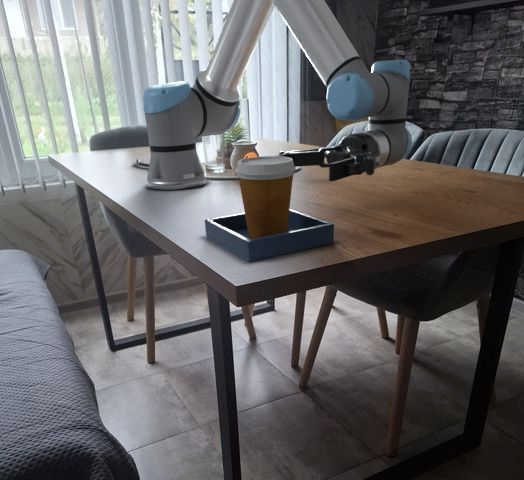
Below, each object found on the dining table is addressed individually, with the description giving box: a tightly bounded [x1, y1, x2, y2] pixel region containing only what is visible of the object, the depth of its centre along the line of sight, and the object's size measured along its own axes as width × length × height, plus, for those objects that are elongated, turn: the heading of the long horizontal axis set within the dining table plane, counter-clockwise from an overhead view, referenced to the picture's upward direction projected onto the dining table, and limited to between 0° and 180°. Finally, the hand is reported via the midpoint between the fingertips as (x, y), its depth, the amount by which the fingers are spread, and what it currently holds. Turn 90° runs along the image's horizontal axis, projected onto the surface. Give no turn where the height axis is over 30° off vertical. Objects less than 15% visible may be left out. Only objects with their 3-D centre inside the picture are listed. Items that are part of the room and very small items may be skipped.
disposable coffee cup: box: [234, 155, 297, 239], centre depth 78 cm, size 10×10×12 cm
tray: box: [204, 208, 335, 263], centre depth 80 cm, size 16×16×3 cm
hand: (297, 169), depth 82 cm, fingers open, 13 cm apart
